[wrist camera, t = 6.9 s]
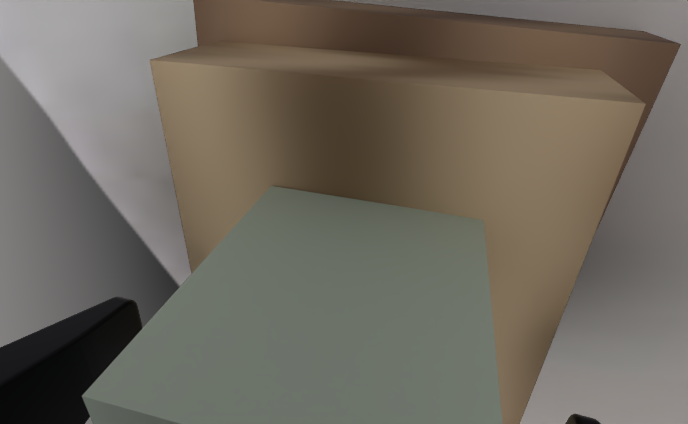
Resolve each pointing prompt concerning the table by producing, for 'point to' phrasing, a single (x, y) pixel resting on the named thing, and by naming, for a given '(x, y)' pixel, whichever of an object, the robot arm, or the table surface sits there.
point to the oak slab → (409, 159)
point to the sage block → (319, 324)
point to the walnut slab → (445, 39)
